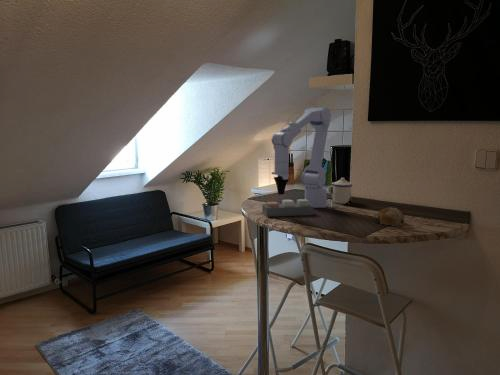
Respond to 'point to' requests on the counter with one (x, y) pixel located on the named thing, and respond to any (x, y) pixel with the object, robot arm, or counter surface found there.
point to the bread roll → (390, 217)
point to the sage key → (302, 202)
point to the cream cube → (287, 203)
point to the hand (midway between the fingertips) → (281, 194)
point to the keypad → (287, 210)
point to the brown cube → (272, 204)
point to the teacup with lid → (341, 191)
